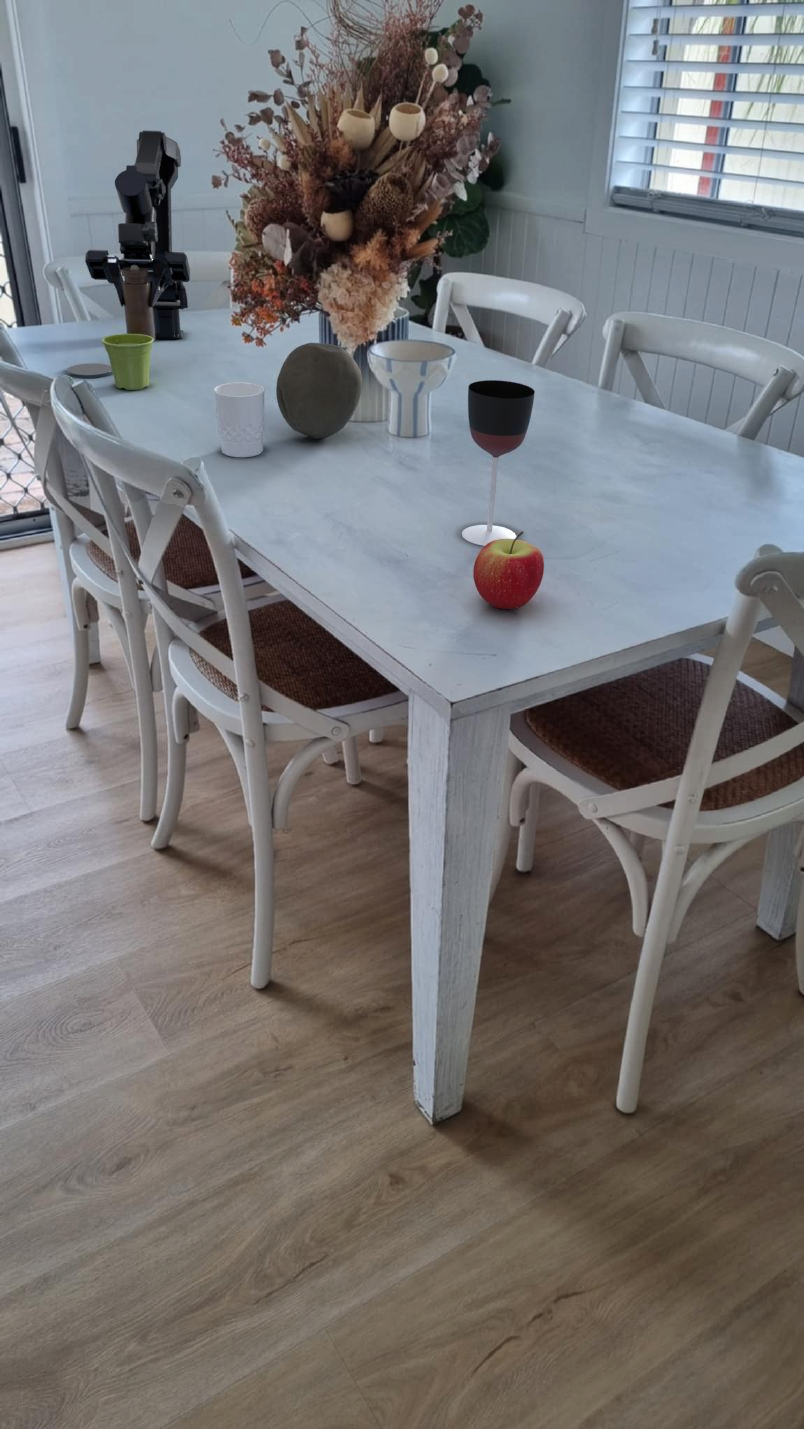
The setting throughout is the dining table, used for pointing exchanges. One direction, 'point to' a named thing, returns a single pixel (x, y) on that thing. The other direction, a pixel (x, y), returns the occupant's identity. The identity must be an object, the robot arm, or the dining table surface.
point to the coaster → (89, 370)
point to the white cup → (240, 418)
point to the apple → (508, 572)
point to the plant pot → (129, 359)
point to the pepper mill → (137, 301)
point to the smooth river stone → (318, 389)
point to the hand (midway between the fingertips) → (136, 305)
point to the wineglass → (497, 437)
